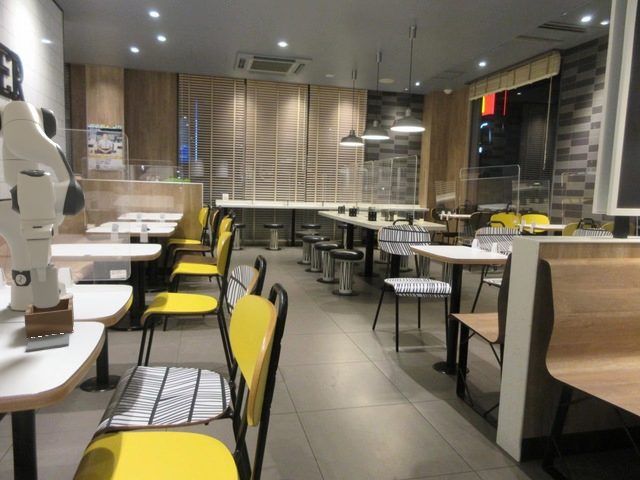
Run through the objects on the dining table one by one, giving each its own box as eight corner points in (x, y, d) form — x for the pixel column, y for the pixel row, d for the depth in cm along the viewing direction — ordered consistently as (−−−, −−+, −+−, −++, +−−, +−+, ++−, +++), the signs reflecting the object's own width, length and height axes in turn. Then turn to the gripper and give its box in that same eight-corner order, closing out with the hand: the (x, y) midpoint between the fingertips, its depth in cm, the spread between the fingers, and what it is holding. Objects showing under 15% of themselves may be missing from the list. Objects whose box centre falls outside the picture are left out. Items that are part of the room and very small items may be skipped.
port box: (31, 323, 142) (29, 302, 141) (74, 317, 148) (72, 297, 147) (26, 338, 128) (24, 315, 127) (73, 332, 134) (71, 309, 133)
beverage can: (44, 309, 120) (40, 266, 118) (28, 307, 122) (24, 265, 120) (65, 303, 126) (61, 262, 124) (49, 301, 128) (46, 261, 126)
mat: (29, 340, 127) (29, 338, 127) (69, 334, 132) (69, 332, 132) (25, 351, 118) (25, 349, 118) (68, 345, 123) (68, 343, 123)
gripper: (29, 226, 128) (33, 273, 130) (21, 233, 110) (26, 287, 112) (54, 225, 131) (58, 271, 133) (50, 232, 113) (55, 284, 115)
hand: (43, 278), depth 122 cm, fingers closed on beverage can, 6 cm apart
